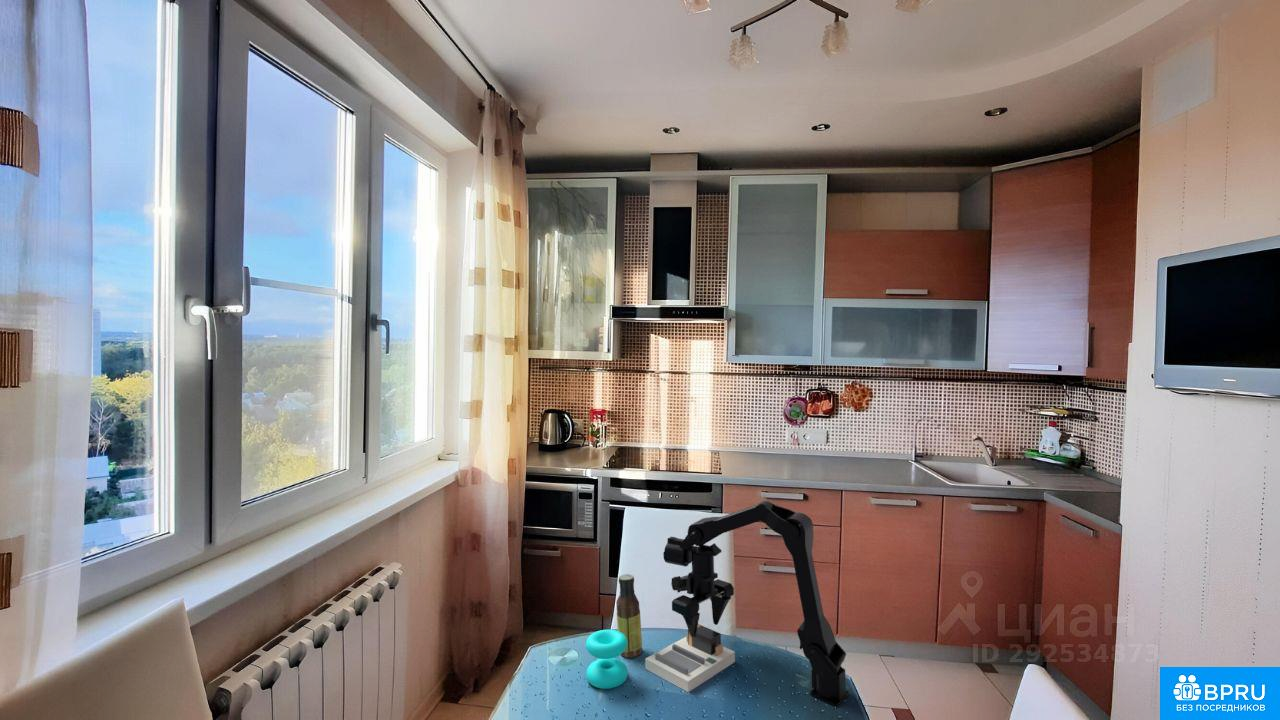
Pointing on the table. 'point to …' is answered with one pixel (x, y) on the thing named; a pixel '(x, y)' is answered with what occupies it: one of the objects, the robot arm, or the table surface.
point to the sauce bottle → (629, 616)
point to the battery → (705, 639)
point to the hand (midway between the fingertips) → (704, 630)
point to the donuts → (606, 659)
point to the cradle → (688, 664)
